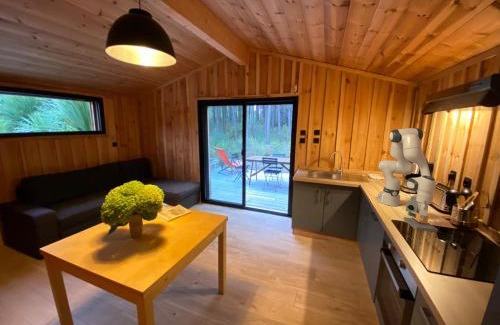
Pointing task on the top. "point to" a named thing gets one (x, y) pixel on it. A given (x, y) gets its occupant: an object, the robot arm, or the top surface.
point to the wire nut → (423, 218)
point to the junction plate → (420, 225)
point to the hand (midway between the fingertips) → (420, 218)
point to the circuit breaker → (412, 206)
